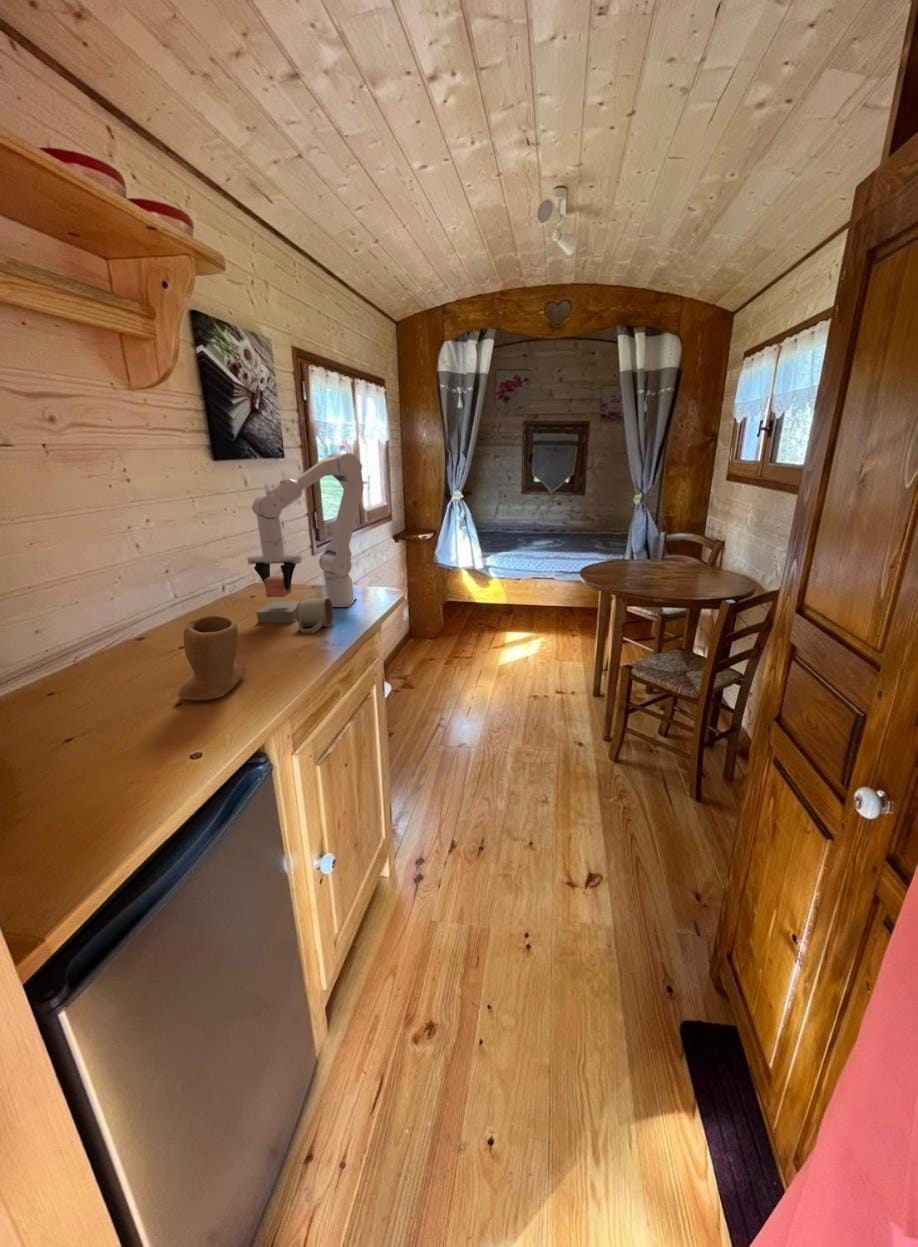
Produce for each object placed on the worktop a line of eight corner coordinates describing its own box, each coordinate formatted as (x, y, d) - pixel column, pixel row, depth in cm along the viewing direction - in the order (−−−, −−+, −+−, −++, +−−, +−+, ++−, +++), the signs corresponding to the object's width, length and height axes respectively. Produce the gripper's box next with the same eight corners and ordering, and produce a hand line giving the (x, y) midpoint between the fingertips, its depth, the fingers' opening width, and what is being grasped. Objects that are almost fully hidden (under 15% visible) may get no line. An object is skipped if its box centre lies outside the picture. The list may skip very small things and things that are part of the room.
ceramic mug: (306, 621, 150) (302, 594, 147) (335, 621, 149) (332, 594, 147) (292, 635, 140) (287, 606, 137) (323, 634, 139) (319, 606, 137)
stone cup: (232, 705, 102) (218, 629, 98) (171, 705, 103) (154, 631, 98) (263, 672, 117) (252, 605, 112) (209, 673, 117) (195, 607, 112)
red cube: (274, 592, 155) (271, 575, 153) (291, 592, 154) (288, 574, 153) (266, 597, 150) (264, 579, 149) (284, 596, 150) (281, 579, 148)
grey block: (273, 613, 160) (271, 601, 159) (306, 612, 159) (304, 601, 158) (258, 624, 151) (256, 612, 149) (293, 623, 150) (291, 611, 148)
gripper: (239, 543, 145) (247, 593, 149) (291, 542, 143) (298, 592, 148) (251, 539, 151) (258, 586, 156) (301, 538, 150) (307, 585, 154)
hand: (278, 589), depth 152 cm, fingers closed on red cube, 5 cm apart
